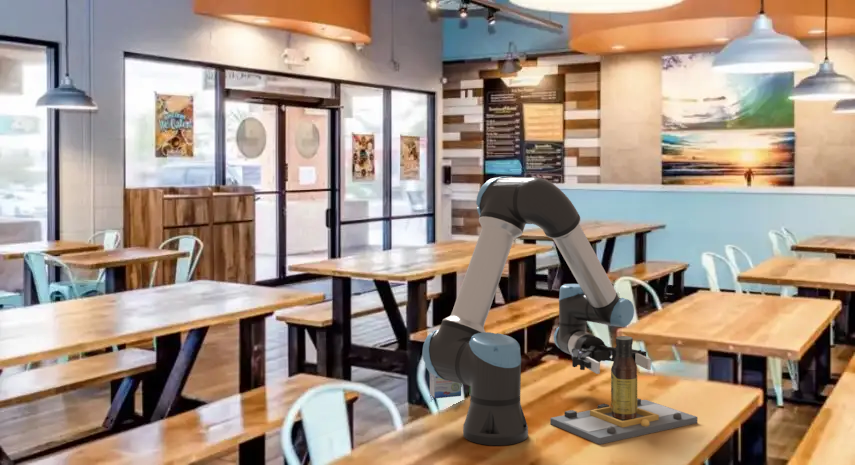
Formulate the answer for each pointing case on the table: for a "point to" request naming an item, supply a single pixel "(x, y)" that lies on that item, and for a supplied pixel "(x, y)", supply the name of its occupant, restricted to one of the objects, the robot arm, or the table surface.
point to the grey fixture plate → (621, 422)
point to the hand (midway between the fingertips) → (624, 366)
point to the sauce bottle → (624, 381)
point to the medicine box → (443, 387)
